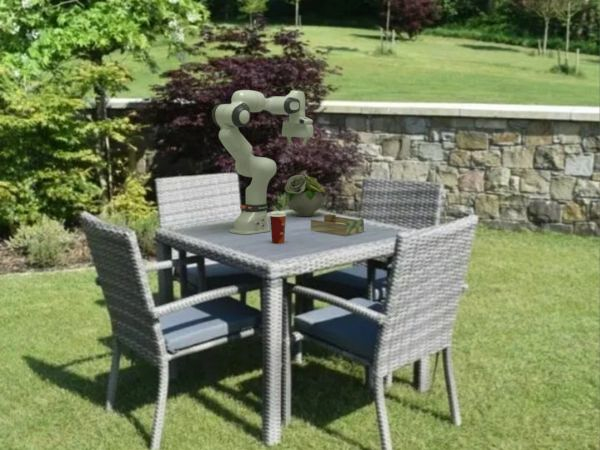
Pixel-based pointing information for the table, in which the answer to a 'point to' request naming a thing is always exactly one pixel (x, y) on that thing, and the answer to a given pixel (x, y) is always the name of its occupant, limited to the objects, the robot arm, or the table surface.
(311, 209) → the flower arrangement
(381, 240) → the table surface
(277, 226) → the coffee cup
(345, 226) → the trap track
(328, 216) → the walnut block
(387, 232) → the table surface
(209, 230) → the table surface
